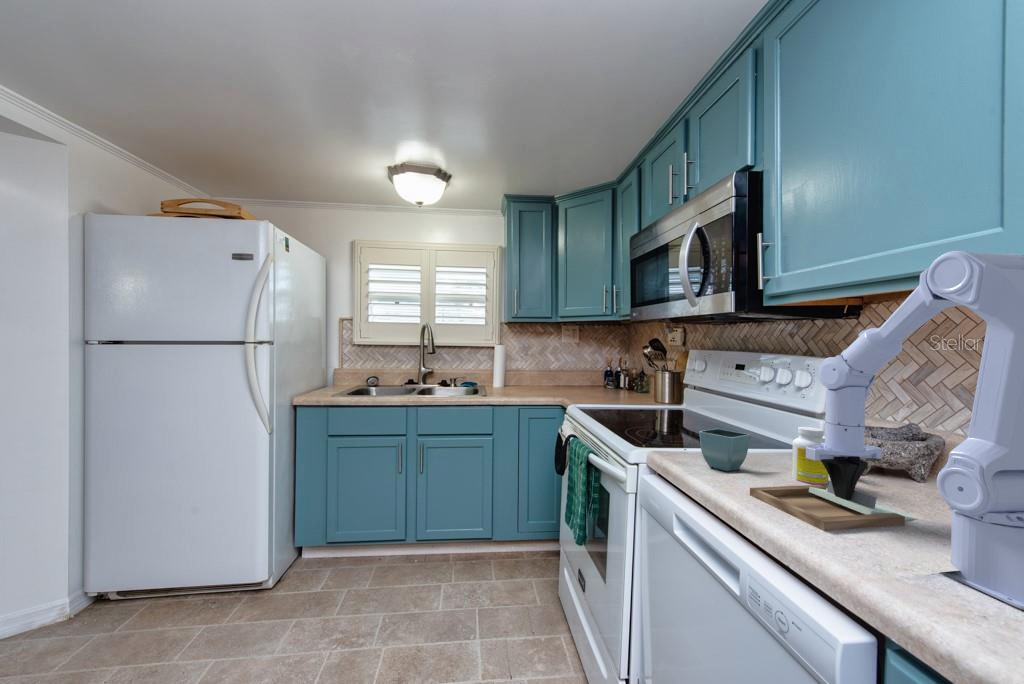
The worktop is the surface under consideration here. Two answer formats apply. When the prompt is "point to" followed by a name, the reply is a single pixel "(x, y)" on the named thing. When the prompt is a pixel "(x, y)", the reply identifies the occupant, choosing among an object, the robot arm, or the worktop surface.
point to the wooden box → (821, 509)
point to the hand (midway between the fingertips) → (842, 497)
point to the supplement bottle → (803, 466)
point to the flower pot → (724, 448)
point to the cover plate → (857, 502)
